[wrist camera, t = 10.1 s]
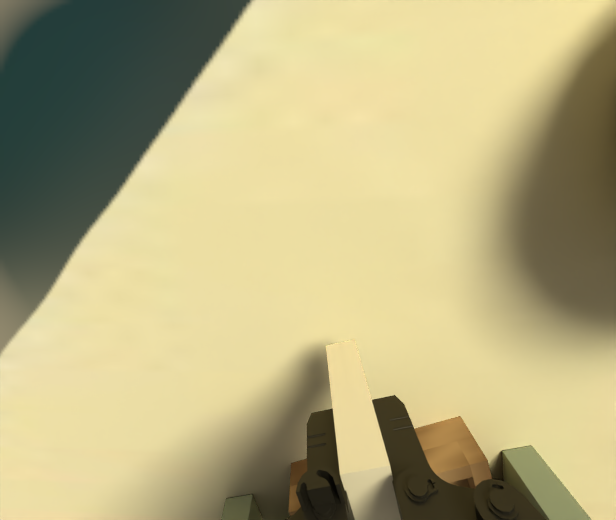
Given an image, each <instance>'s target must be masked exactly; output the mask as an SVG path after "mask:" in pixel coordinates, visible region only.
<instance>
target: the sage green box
mask: <svg viewBox="0 0 616 520" xmlns="http://www.w3.org/2000/svg"><path fill="white" fill-rule="evenodd" d="M502 457H503V480H504V482H506V483H508V484H510V485H512V486H513V487H515V488H516V489H517V490H518V491H519V492H521V493H522V494H523V495H524V496H525V497H526V498H527V499H528V501H529V502H530V503H531V504H532V505H533V506H534V507H535V508H536V509H537V510H538V511H539V512H540V513H541V515H542V516H543V517H544V518H545V519H546V520H591V518H590V517H589V516H588V515H587V514H586V512H585V511H584V510H583V509H582V507H581V506H580V505H579V504H578V502H577V501H576V500H575V499H574V497H573V496H572V495H571V494H570V492H569V491H568V490H567V489H566V487H565V486H564V485H563V484H562V482H561V481H560V480H559V479H558V478H557V476H556V475H555V474H554V473H553V471H552V470H551V469H550V468H549V466H548V465H547V464H546V463H545V461H544V460H543V459H542V458H541V456H540V455H539V454H538V453H537V451H536V450H535V449H534V448H533V447H532V446H527V447H521V448H515V449H510V450H504V451H502ZM221 520H263V519H262V516H261V514H260V512H259V509H258V507H257V504H256V502H255V500H254V497H253V495H252V494H251V495H245V496H239V497H234V498H228V499H226V502H225V506H224V510H223V514H222V518H221Z"/></svg>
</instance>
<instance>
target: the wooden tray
mask: <svg viewBox="0 0 616 520" xmlns="http://www.w3.org/2000/svg"><path fill="white" fill-rule="evenodd" d="M415 432H416V434H417V437H418V439H419V442H420V444H421V446H422V449H423V451H424V454H425V456H426V459H427V461H428V463H429V465H430V467H431V469H432V470H433V471H434V473H435V474H436V475H437V476H439V477H440V478H441V479H442V480H444V481H446V482H448V483H450V484H453V485H457V486H462V487H468V488H474V489H475V488H476V486H477V485H478V484H479V483H480V482H481V481H484V480H488V479H492V477H491V473H490V468H489V464H488V460H487V459H486V457H485V455H484V454H483V452H482V451H481V449H480V447H479V446H478V444H477V442H476V441H475V439H474V438H473V436H472V434H471V433H470V431H469V429H468V428H467V426H466V425H465V423H464V421H463V420H462V418H461V417H460V416H459V417H455V418H451V419H448V420H444V421H441V422H437V423H434V424H430V425H426V426H423V427H419V428H416V429H415ZM306 471H307V459H304V460H301V461H297V462H294V463H291V475H290V495H289V514H290V516H292V515H293V514H295V513H296V512H297V510H298V509H299V508H300V507H301V505H300V503H299V500H298V497H297V494H296V488H297V484H298V482H299V480H300V478H301V476H302V475H303V474H304V473H305V472H306Z"/></svg>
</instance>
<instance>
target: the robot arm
mask: <svg viewBox="0 0 616 520" xmlns="http://www.w3.org/2000/svg"><path fill="white" fill-rule="evenodd" d="M326 352H327V361H328V370H329V380H330V389H331V398H332V407H333V409H329V410H324V411H319V412H315V413H312V414H311V416H310V418H309V421H308V423H307V471H306V472H305V473H304V474H303V475H302V476H301V478H300V480H299V482H298V484H297V488H296V494H297V497H298V500H299V503H300V505H301V507H300V508H299V509H298V510H297V512H296V513H295V514H293V515H292V516H291V517H289V518H288V519H286V520H546V519H545V518H544V517H543V516H542V515H541V513H540V512H539V511H538V510H537V509H536V508H535V507H534V506H533V505H532V504H531V503H530V502H529V501H528V499H527V498H526V497H525V496H524V495H523V494H522V493H521V492H519V491H518V490H517V489H516V488H515V487H513V486H512V485H510V484H508V483H506V482H504V481H502V480H495V479H488V480H484V481H481V482H480V483H479V484H478V485H477V486H476V488H475V489H474V488H468V487H462V486H457V485H453V484H450V483H448V482H446V481H444V480H442V479H441V478H440V477H439V476H437V475H436V474H435V473H434V471H433V470H432V469H431V467H430V465H429V463H428V461H427V459H426V456H425V454H424V451H423V449H422V446H421V444H420V442H419V439H418V437H417V434H416V432H415V429H414V427H413V425H412V422H411V420H410V418H409V415H408V412H407V410H406V408H405V405H404V404H403V403H402V402H401V401H400V400H399V399H398V398H397V397H396V396H395V395H394V396H389V397H384V398H379V399H374V400H372V399H371V396H370V392H369V388H368V385H367V381H366V378H365V374H364V371H363V367H362V364H361V360H360V356H359V353H358V349H357V346H356V342H355V339H352V340H348V341H343V342H339V343H334V344H330V345H326Z"/></svg>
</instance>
